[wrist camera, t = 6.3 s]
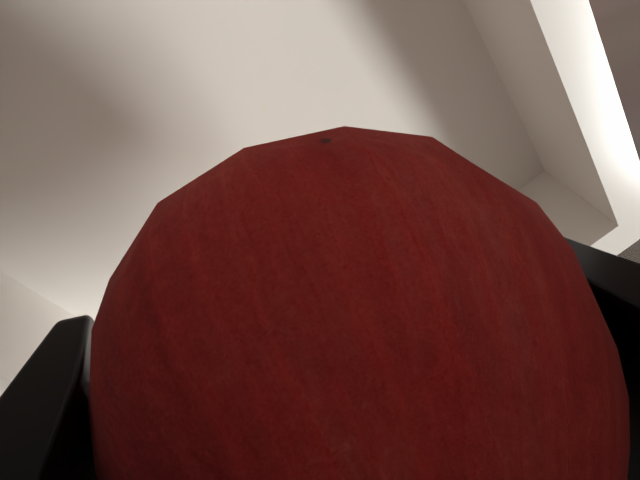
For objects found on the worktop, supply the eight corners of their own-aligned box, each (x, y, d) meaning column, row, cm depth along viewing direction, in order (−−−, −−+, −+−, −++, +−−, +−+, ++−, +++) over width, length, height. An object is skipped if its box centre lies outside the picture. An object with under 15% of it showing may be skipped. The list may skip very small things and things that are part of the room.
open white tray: (213, 381, 17) (240, 521, 14) (-222, 105, 10) (-403, 247, 6) (533, 138, 15) (659, 224, 12) (284, -392, 8) (410, -562, 5)
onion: (376, 337, 12) (656, 848, 6) (91, 348, 10) (61, 1156, 4) (472, 75, 9) (1204, 529, 3) (101, 13, 7) (54, 1041, 1)
